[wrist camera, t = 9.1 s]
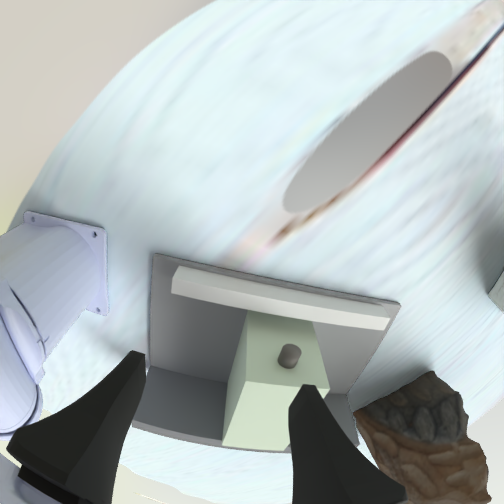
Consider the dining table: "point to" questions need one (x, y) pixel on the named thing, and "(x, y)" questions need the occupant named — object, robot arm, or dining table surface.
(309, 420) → the robot arm
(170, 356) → the grey piece
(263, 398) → the cabinet block
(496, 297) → the supplement box
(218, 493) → the dining table surface
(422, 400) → the owl
